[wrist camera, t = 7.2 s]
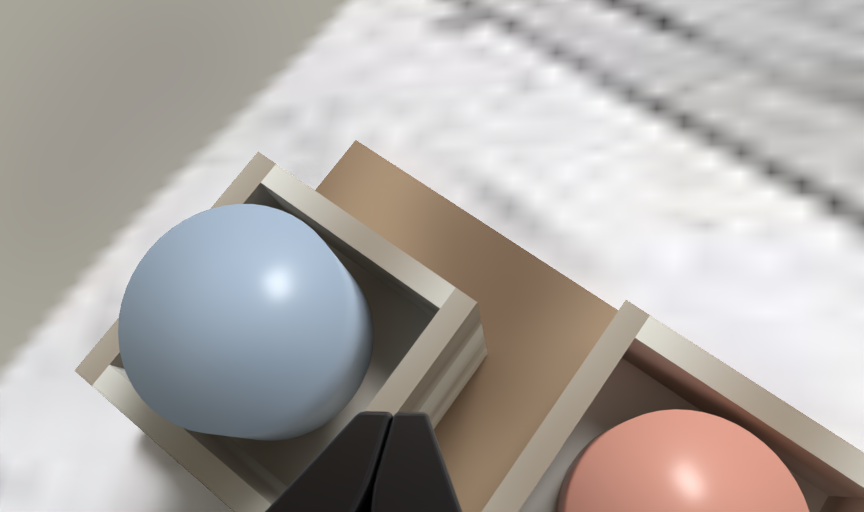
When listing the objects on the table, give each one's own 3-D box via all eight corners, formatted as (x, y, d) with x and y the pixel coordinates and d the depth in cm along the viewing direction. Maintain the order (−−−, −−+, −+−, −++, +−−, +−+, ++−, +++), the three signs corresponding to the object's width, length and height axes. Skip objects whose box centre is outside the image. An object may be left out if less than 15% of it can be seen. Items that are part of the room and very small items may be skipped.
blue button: (145, 362, 14) (71, 340, 11) (267, 212, 14) (221, 164, 12) (289, 483, 13) (240, 485, 10) (412, 316, 13) (393, 284, 11)
